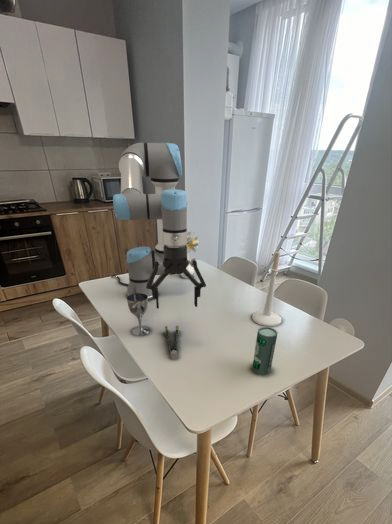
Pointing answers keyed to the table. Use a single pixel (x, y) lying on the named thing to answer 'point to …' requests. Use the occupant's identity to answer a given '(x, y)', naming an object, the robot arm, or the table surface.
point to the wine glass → (138, 310)
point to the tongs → (173, 352)
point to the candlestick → (269, 300)
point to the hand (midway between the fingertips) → (176, 306)
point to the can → (264, 350)
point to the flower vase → (190, 245)
